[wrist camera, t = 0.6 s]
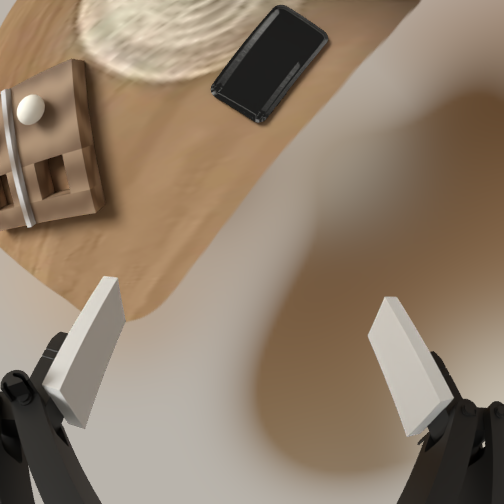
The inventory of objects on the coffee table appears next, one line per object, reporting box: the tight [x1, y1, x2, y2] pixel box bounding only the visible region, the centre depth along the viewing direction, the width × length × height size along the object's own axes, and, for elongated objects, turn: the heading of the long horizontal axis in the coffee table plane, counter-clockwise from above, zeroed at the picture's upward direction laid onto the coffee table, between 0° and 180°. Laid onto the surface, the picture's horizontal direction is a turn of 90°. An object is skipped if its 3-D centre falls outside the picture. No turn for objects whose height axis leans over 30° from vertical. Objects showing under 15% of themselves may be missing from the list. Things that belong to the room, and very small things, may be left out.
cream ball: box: [17, 95, 45, 125], centre depth 26 cm, size 4×4×4 cm
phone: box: [211, 5, 328, 122], centre depth 30 cm, size 8×1×15 cm
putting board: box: [0, 59, 106, 231], centre depth 31 cm, size 21×24×5 cm
